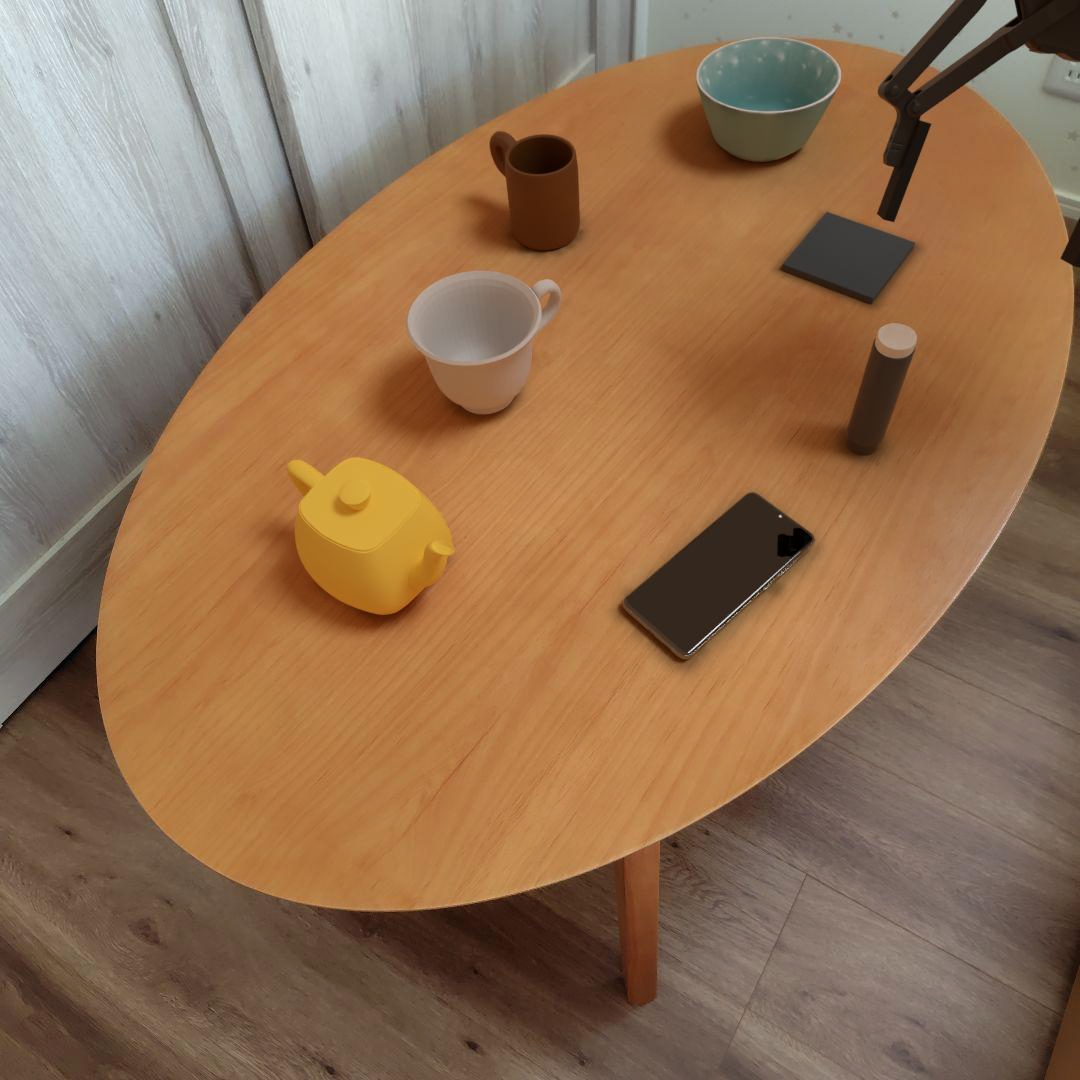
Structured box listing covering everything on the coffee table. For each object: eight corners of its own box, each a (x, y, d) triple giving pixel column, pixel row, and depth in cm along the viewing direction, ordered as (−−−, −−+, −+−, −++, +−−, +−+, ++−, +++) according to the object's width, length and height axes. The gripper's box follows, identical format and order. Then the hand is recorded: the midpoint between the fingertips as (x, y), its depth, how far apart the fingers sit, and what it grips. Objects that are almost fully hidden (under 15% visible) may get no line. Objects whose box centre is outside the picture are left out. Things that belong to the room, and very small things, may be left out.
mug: (473, 214, 107) (462, 138, 99) (524, 184, 109) (516, 108, 101) (543, 262, 101) (536, 186, 93) (594, 230, 104) (592, 153, 96)
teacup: (597, 391, 90) (595, 311, 82) (462, 460, 86) (445, 384, 78) (532, 320, 96) (524, 239, 88) (403, 382, 93) (382, 303, 84)
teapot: (511, 575, 79) (498, 498, 70) (426, 672, 74) (400, 603, 66) (356, 480, 86) (326, 400, 77) (270, 564, 81) (227, 489, 73)
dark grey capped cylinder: (886, 439, 84) (925, 331, 74) (871, 462, 83) (908, 356, 72) (853, 424, 86) (886, 316, 75) (837, 447, 84) (869, 340, 74)
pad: (913, 248, 98) (915, 242, 98) (871, 304, 94) (873, 298, 94) (825, 217, 102) (826, 211, 102) (781, 270, 98) (782, 263, 97)
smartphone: (618, 601, 76) (751, 487, 81) (618, 608, 77) (750, 495, 82) (685, 660, 72) (820, 537, 77) (684, 666, 73) (818, 545, 78)
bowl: (664, 135, 113) (667, 67, 106) (765, 87, 117) (774, 20, 110) (751, 198, 105) (760, 130, 98) (856, 145, 109) (872, 76, 102)
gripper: (1296, -58, 60) (1128, 271, 70) (914, -148, 61) (802, 192, 71) (1372, -71, 53) (1174, 295, 64) (942, -172, 54) (814, 206, 64)
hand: (978, 241), depth 67 cm, fingers open, 13 cm apart
